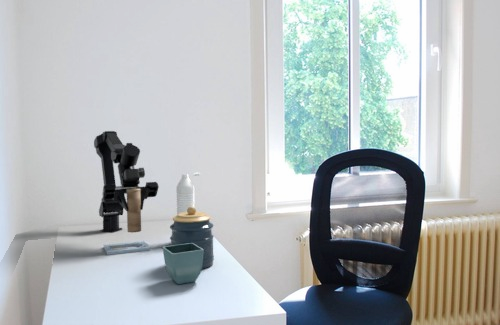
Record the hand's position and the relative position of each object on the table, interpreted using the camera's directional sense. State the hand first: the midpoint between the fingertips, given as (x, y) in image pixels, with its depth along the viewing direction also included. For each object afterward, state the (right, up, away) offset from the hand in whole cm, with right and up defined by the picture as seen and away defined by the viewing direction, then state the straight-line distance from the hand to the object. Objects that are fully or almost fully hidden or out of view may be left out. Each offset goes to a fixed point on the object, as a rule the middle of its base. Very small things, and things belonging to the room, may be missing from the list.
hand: (134, 209), depth 161 cm
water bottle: (+17, -13, +11) cm, 24 cm away
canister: (+22, -15, -19) cm, 33 cm away
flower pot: (+22, -16, -35) cm, 44 cm away
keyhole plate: (-3, -14, +1) cm, 14 cm away
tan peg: (-1, -8, +2) cm, 8 cm away
